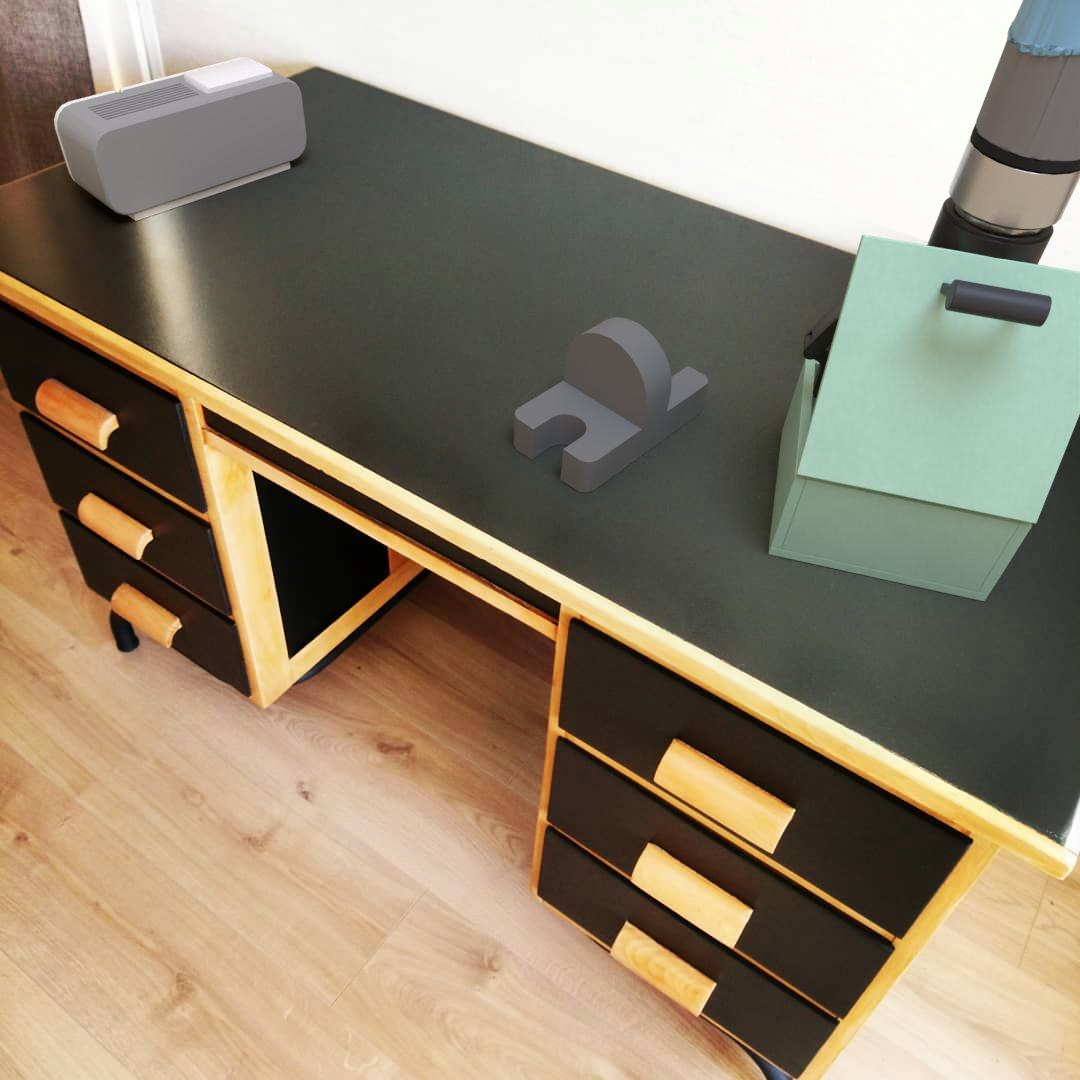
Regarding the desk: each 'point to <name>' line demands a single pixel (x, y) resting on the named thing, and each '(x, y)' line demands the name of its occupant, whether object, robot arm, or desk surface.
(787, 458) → the compartment
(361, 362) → the desk surface
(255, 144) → the alarm clock
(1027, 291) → the lid
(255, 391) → the desk surface
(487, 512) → the desk surface
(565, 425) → the bracket
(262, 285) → the desk surface
